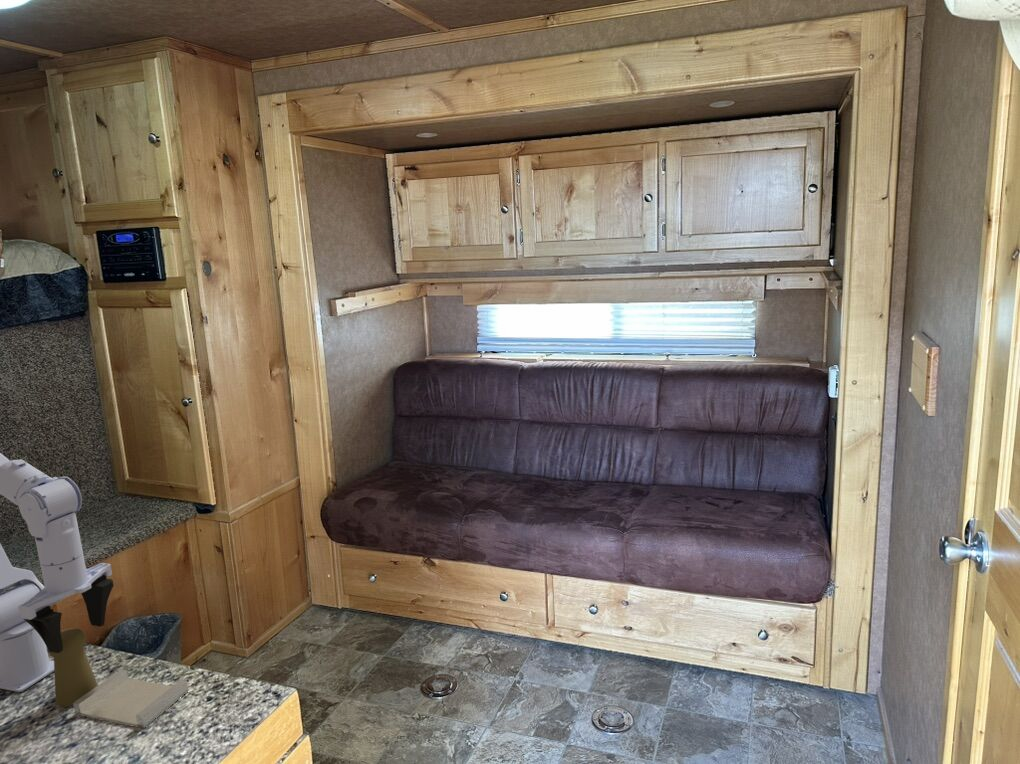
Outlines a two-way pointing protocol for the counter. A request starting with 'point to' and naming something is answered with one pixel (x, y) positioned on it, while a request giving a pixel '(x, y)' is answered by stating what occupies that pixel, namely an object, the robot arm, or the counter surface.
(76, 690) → the brown rounded piece
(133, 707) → the bottom track
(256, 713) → the counter surface
